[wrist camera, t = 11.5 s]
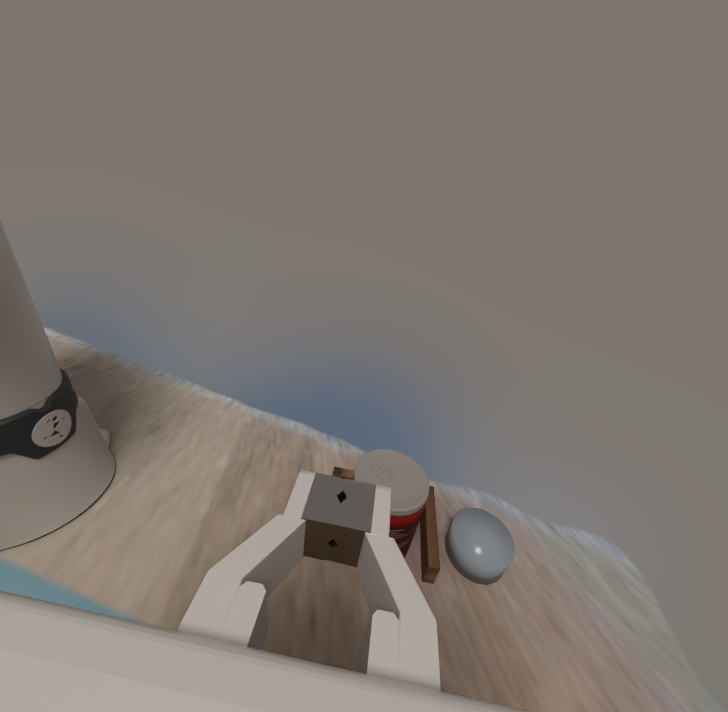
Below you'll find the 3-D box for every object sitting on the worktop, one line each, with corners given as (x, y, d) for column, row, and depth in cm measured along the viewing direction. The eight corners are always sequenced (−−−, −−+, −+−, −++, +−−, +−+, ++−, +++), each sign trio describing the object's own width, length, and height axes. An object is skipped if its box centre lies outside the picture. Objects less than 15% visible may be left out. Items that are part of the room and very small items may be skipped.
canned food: (355, 499, 42) (367, 439, 36) (413, 523, 40) (435, 463, 34) (331, 555, 35) (341, 491, 30) (399, 586, 33) (423, 524, 28)
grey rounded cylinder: (447, 577, 35) (456, 560, 33) (442, 519, 41) (449, 502, 39) (510, 591, 35) (522, 575, 33) (496, 531, 41) (505, 514, 39)
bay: (312, 557, 35) (314, 542, 33) (332, 481, 44) (334, 466, 42) (433, 583, 34) (440, 568, 33) (428, 501, 43) (433, 486, 41)
